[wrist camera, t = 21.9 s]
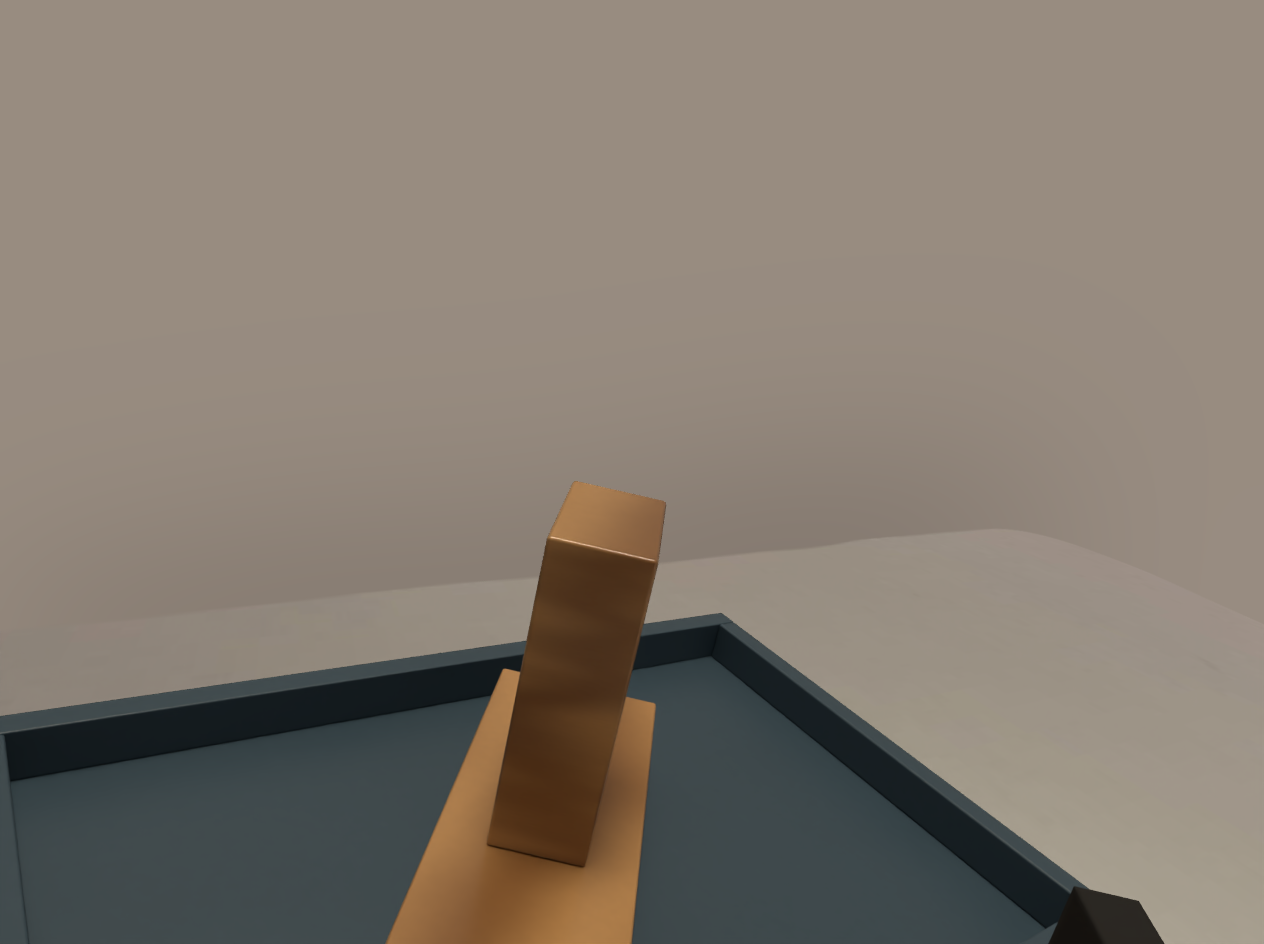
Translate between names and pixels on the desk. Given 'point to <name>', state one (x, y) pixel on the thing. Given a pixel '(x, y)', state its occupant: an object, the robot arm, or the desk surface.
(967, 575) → the desk surface
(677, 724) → the tray
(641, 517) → the wooden block on base
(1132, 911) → the robot arm
